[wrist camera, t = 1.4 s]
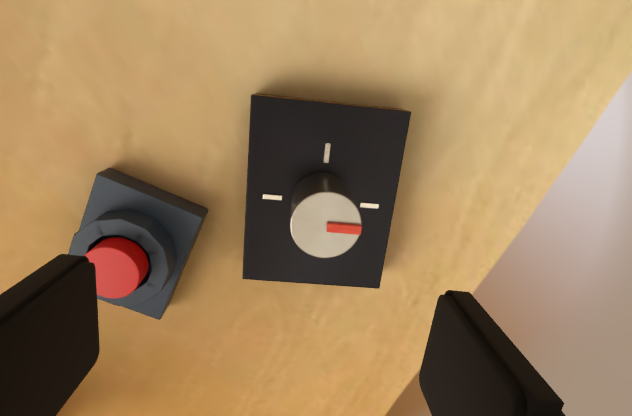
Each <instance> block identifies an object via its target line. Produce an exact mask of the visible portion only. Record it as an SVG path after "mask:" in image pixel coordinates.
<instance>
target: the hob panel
mask: <svg viewBox="0 0 632 416" xmlns="http://www.w3.org/2000/svg"><path fill="white" fill-rule="evenodd" d="M410 115H411V112H410V111H407V110H403V109H397V108H387V107H378V106H369V105H359V104H350V103H341V102H331V101H322V100H313V99H303V98H294V97H285V96H275V95H266V94H257V93H256V94H253V95H251V111H250V132H249V153H248V174H247V195H246V216H245V237H244V258H243V279H252V280H266V281H280V282H295V283H309V284H323V285H337V286H352V287H366V288H379V287H380V281H381V276H382V270H383V264H384V259H385V253H386V248H387V242H388V237H389V231H390V226H391V220H392V215H393V209H394V204H395V198H396V193H397V187H398V182H399V176H400V171H401V165H402V160H403V154H404V148H405V143H406V137H407V132H408V126H409V121H410ZM319 172H325V173H330V174H333V175H336V176H337V177H339V178H340V179H342V180H343V181H344V182H345V184H346V185H347V187H348V189H349V191H350V193H351V195H352V197H353V199H354V202H355V204H356V206H357V208H358V210H359V213H360V216H361V223H362V225H361V226H362V230H361V235H359V237H358V239H357V241H356V242H355V244H354V245H353V246H352V247H351V248H350V249H349V250H348V251H346V252H345V253H343V254H341V255H339V256H336V257H332V258H319V257H314V256H311V255H309V254H307V253H305V252H304V251H303V250H301V249H300V248H299V247H298V246H297V244H296V243H295V241H294V240H293V237H292V235H291V230H290V218H291V201H292V194H293V191H294V189H295V187H296V186H297V184H298V183H299V182H300V181H301V180H302V179H303V178H305V177H306V176H308V175H311V174H313V173H319Z"/></svg>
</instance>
